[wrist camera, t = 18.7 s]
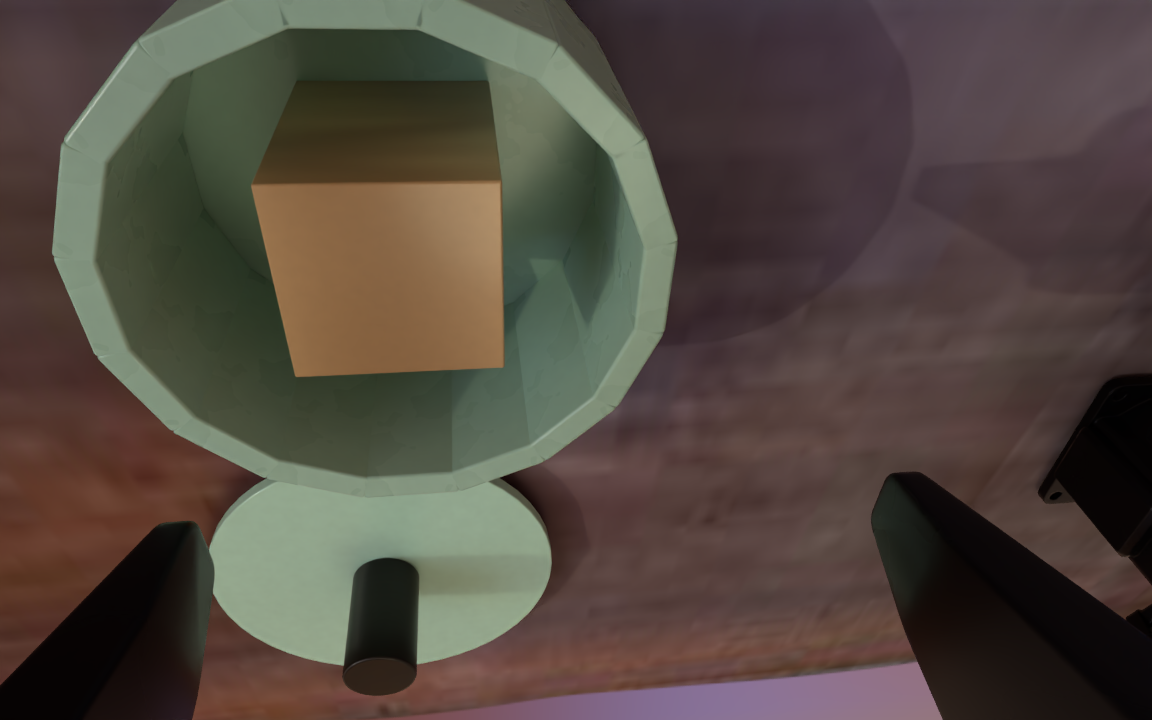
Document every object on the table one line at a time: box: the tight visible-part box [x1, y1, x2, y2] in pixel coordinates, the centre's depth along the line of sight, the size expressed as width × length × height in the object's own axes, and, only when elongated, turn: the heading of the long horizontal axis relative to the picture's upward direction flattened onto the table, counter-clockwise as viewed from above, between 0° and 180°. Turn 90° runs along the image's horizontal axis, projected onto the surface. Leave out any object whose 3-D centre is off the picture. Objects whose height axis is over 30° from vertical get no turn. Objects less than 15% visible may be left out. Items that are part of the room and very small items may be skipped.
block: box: [251, 81, 505, 377], centre depth 18 cm, size 4×4×6 cm
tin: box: [52, 0, 678, 498], centre depth 18 cm, size 11×11×6 cm
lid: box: [209, 478, 552, 696], centre depth 28 cm, size 12×12×5 cm
